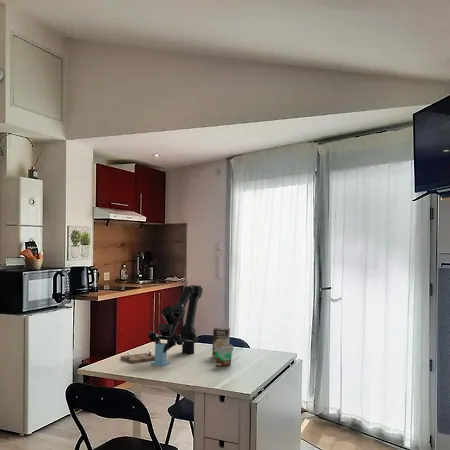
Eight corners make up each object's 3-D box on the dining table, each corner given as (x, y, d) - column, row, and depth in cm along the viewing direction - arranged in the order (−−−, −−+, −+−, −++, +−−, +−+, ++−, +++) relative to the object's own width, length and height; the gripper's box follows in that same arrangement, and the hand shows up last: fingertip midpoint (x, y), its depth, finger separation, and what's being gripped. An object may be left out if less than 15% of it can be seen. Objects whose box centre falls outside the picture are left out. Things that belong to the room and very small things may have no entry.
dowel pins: (150, 354, 267) (150, 350, 267) (151, 355, 266) (152, 350, 266) (126, 357, 258) (126, 353, 258) (128, 358, 256) (128, 353, 257)
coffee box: (211, 358, 270) (212, 329, 271) (212, 355, 277) (213, 327, 278) (228, 359, 269) (229, 329, 270) (229, 356, 276) (230, 328, 277)
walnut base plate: (146, 355, 271) (146, 352, 271) (158, 359, 262) (158, 357, 262) (120, 359, 261) (120, 356, 261) (131, 363, 252) (131, 360, 252)
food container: (223, 368, 248) (224, 348, 248) (214, 366, 251) (214, 346, 252) (237, 364, 257) (238, 345, 258) (228, 362, 261) (229, 343, 262)
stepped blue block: (157, 362, 257) (158, 341, 257) (169, 363, 254) (170, 343, 255) (151, 364, 250) (151, 344, 251) (163, 366, 248) (163, 345, 248)
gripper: (150, 316, 261) (138, 340, 250) (181, 319, 254) (170, 344, 243) (157, 329, 268) (145, 353, 257) (187, 332, 261) (177, 357, 250)
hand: (159, 351), depth 251 cm, fingers closed on stepped blue block, 4 cm apart
